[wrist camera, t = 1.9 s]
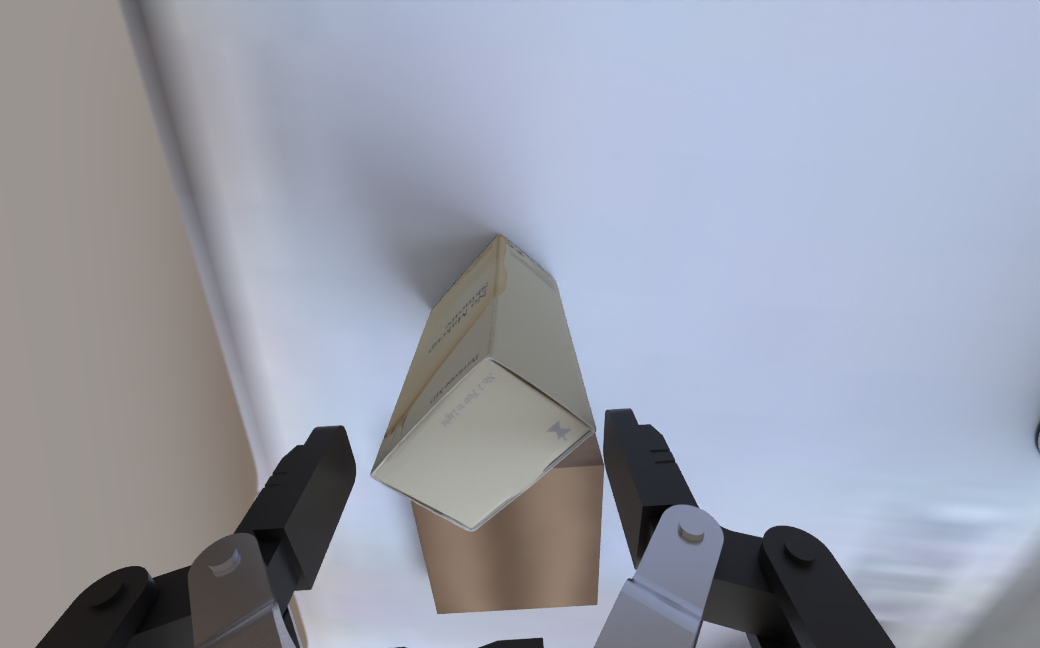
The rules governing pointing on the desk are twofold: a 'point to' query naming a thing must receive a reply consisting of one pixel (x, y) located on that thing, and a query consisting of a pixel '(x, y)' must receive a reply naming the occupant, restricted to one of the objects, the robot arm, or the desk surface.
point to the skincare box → (487, 393)
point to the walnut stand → (523, 544)
